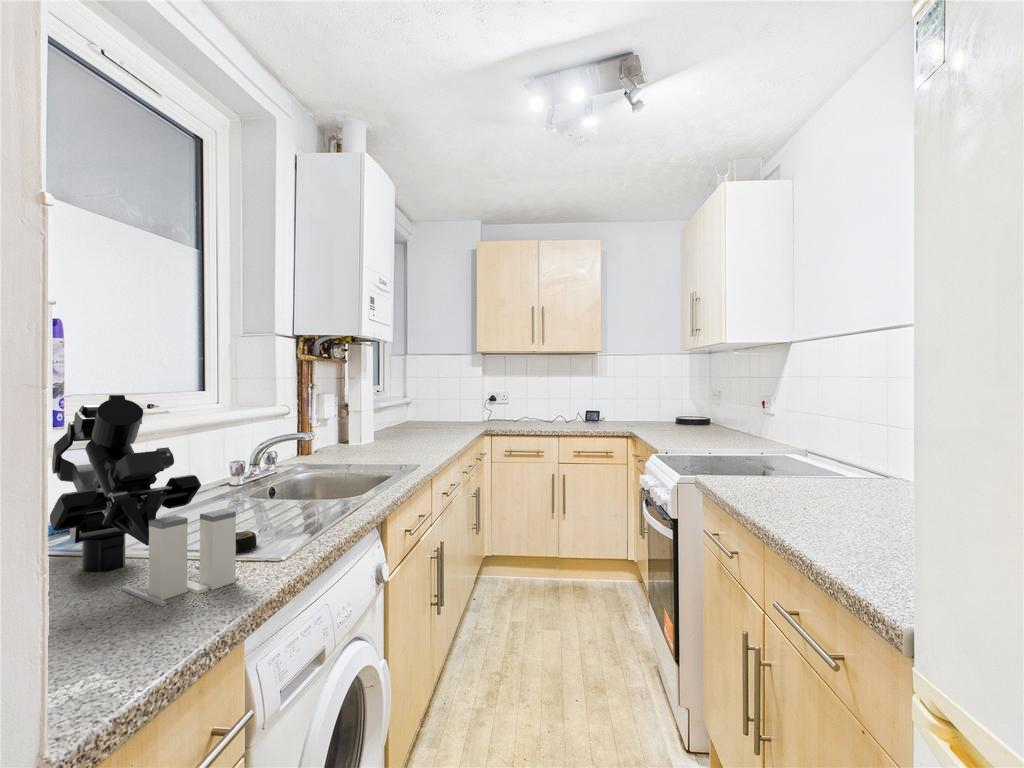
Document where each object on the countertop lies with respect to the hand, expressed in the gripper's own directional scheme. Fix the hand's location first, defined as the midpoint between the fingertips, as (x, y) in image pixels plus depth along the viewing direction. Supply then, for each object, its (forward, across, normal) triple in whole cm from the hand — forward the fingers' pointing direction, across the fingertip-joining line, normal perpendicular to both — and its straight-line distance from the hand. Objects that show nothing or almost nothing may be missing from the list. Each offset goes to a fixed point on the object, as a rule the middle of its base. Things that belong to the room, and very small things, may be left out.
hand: (151, 543), depth 76 cm
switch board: (+8, +3, +3) cm, 9 cm away
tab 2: (+10, +6, -1) cm, 12 cm away
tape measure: (+1, +17, +10) cm, 20 cm away
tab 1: (+8, 0, +1) cm, 8 cm away
